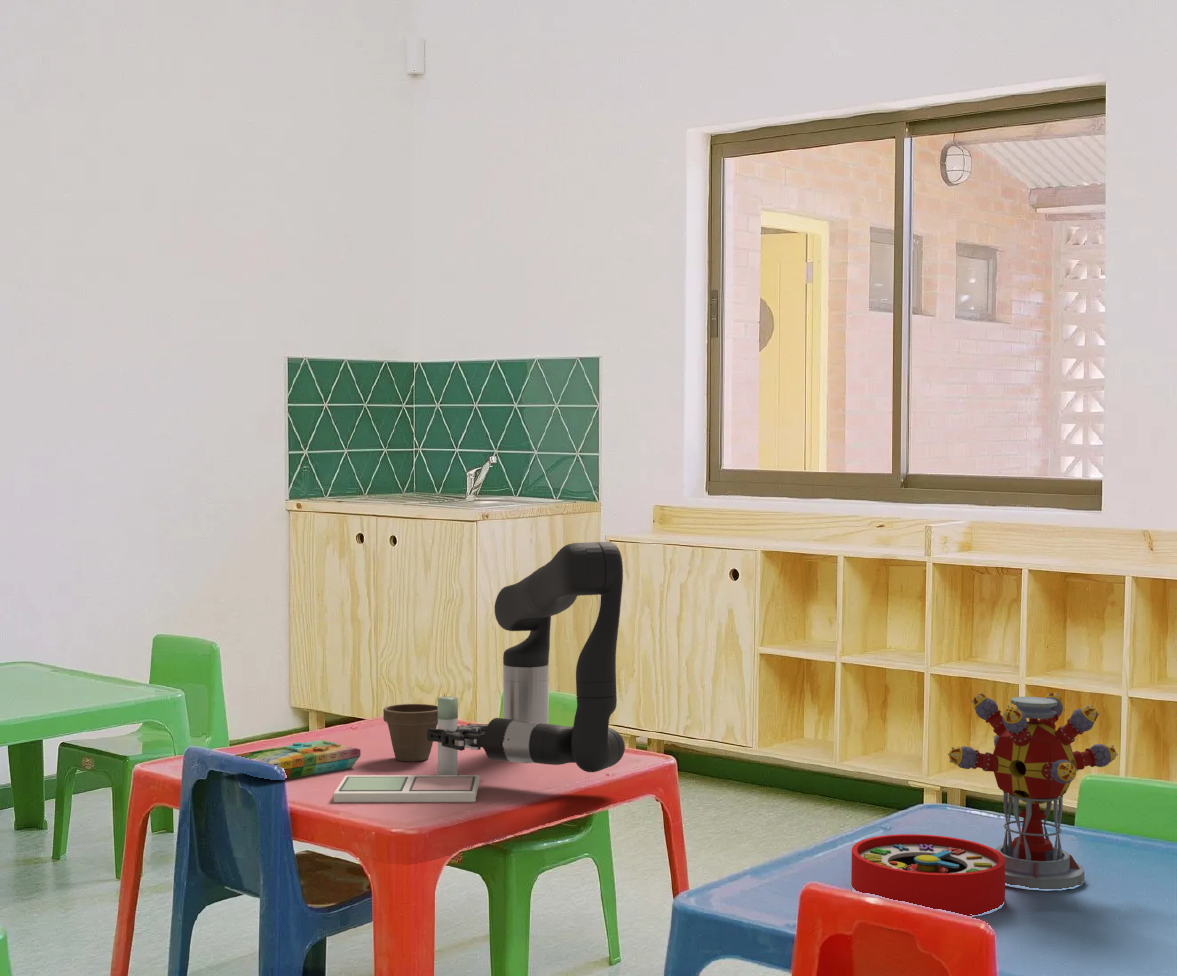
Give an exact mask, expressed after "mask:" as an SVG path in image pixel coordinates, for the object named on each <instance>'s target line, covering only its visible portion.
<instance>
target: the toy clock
mask: <svg viewBox="0 0 1177 976" xmlns="http://www.w3.org/2000/svg"><path fill="white" fill-rule="evenodd" d="M850 865H851V872H850V873H851V877H850V880H851V881H850V883H851V884H850V886H851V885H852V887H853V888H854V889H855V890H856V891H859V892H862V893H870V894H875V895H879V896H882V897H885V898H889V899H893V900H898V901H905V902H909V903H913V904H917V905H922V906H925V907H930V908H933V909H942V910H946V911H951V912H955V913H959V914H963V915H967V916H972V915H978V914H982V913H984V912H987V911H990V910H992V909H995V908H998V907H999V906H1000V905H1002V904H1003V902H1004V901H1005V902H1006V886H1005V858H1004V856H1003V855H1002V854H1001V853H1000V852H999V851H997V850H996V848H993V847H990V846H989V845H986V844H982V843H980V842H976V841H971V840H968V839H964V838H963V839H962V838H958V837H951V836H944V835H936V834H935V835H933V834H918V833H917V834H915V833H911V834H910V833H907V834H906V833H904V834H903V833H901V834H887V835H879V836H873V837H868V838H865V839H862V840H860V841H858V842H856V843H855V844H853V845H852V848H851V864H850ZM970 914H972V915H970Z"/></svg>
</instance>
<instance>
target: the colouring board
mask: <svg viewBox="0 0 1177 976" xmlns="http://www.w3.org/2000/svg"><path fill="white" fill-rule="evenodd" d="M479 785H480V774H479V775H478V774H469V775H467V774H465V775H464V774H463V775H461V774H457V775H438V774H437V775H436V774H433V775H432V774H429V775H427V774H426V775H424V774H422V775H420V774H417V775H413V774H412V775H410V774H409V775H408V774H407V775H406V774H405V775H401V774H400V775H399V774H398V775H395V774H391V775H389V774H387V775H378V774H377V775H372V774H371V775H369V774H368V775H363V774H362V775H359V774H358V775H349V774H347V775H346V774H345V775H344V777H343V778H342V780H341V781H340V783H339V785H338V786H337V788H336V789H335V791H334V792H333V803H476V800H477V795H478V790H479V787H480V786H479Z"/></svg>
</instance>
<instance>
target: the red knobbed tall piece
mask: <svg viewBox="0 0 1177 976" xmlns="http://www.w3.org/2000/svg"><path fill="white" fill-rule="evenodd" d="M970 703H972V704H973V708H974V710H975V713H976V715H977V717H978V718H980V719H982V720H985V721H984V722H985V723H986V724H988V723H989V725H990V726H991V727H992V728H993V730H992V731H993V733H994V734H995V735H992V738H993V743H994V750H993V752H992V753H991V752H984V753H982V752H980V751H979V750H978V749H974V748H973V747H970V746H965V745H964V746H963V745H962V746H961V747H960V746H957V747H953V746H951V749H950V751H949V753H948V754H947V755H948V758H949V763H952V764H954V765H955V766H957V767H959V769H960V768H961V769H965V770H969V769H973V770H976V769H977V768H978V769H981V770H982V771H984V772H990V773H991V772H993V773H994V774H993V775H994V778H995V781H996V784H997V787H998V788H999V790H1001V791H1002V793H1003V800H1002V801H1003V802H1002V803H1003V812H1004V818H1005V823H1004V824H1003V828H1004V829H1005V833H1004V839H1003V844H1002V845H999V846H997V847H996V848H995V850H997V851H999V852H1000V853H1001V854H1002V855H1003V856H1004V858H1005V883H1007V884H1010V885H1020V886H1025V887H1029V888H1039V889H1062V888H1069V887H1074V886H1076V885H1081V884H1082V882H1083V881H1084V882H1085V869H1084V866H1082V865H1080V864H1079V863H1077V862H1076V860H1075V859H1074V858H1073V855H1072V854H1069V853H1068V852H1067V851H1065V850H1064V849H1062V843H1061V837H1060V834H1061V833H1062V828H1061V822H1062V817H1063V811H1064V810H1063V809H1064V808H1063V806H1064V805H1063V803H1064V801H1063V798H1064V795H1065V794H1066V793H1067V791H1068V790H1069V788H1070V785H1071V783H1072V782H1073V781H1074V779H1075V778H1076V776H1077V772H1078V771H1081V770H1084V769H1085V768H1086V767H1091V768H1094V767H1097V768H1104V767H1107V766H1108V765H1109V764H1110V763H1113V761H1114V760H1116V757H1117V756H1119V754H1118V753H1117V751H1116V749H1115V746H1114V745H1113V744H1111V745H1107V744H1103V743H1102V744H1101V743H1096V744H1093V745H1091V746H1090V747H1088V748H1085V750H1084V751H1079V750H1075V751H1073V748H1072V743H1074V742H1075V741H1076V737H1077V736H1079V735H1083V734H1084V733H1085V732H1088V731H1090V730H1092V728H1093V727H1094V725H1095V723H1096V721H1097V719H1098V717H1099V716H1100V714H1101V713H1100V712H1098V710H1097V709H1096V707H1094V705H1093V704H1091V705H1089V704H1087V705H1085V706H1081V707H1080V708H1077V709H1075V710H1073V711H1072V714H1071V716H1070V718H1067V723H1066V724H1064V725H1061V726H1059V727H1058V728H1057V729H1056V723H1057V722H1058V720H1059V718H1060V717H1061V716H1062V713H1063V711H1064V706H1063V699H1062V698H1061V697H1060V695H1059V692H1055V693H1054V692H1049V691H1048V692H1047V695H1046V696H1045V697H1040V696H1015V697H1011V698H1010V704H1011V705H1013V706H1016V707H1013V706H1010V705H1009V704H1008V705H1007V708H1006V709H1005V711H1004V713H1003V715H1002V714H1001V713H1002V710H1000V709H999V705H998V704H997V702H996V701H995V700H994V699H992V698H990V697H989V696H986V695H985V694H984V692H981V693H979V694H976V695H975V696H974V697H973V699H971V700H970ZM1027 719H1028V720H1027ZM1020 800H1021V801H1022V802H1024V803H1025V808H1022V809H1021V810H1020V812H1019V809H1020V808H1019V806H1020V805H1019V804H1020ZM1052 802H1053V803H1052ZM1043 804H1046V807H1045V811H1044V810H1043V809H1041V807H1040V805H1043ZM1052 806H1053V811H1052V812H1053V820H1054V824H1052V823H1049V822H1047V820H1048V818H1049V814H1050V811H1051V809H1052ZM1012 809H1013V810H1012ZM1012 813H1013V815H1014V820H1013V821H1011V815H1012ZM1020 818H1022V819H1023V820H1020ZM1042 820H1043V821H1042ZM1021 823H1022V827H1021ZM1012 824H1016V826H1017V828H1018V831H1017V830H1013V829H1010V828H1011V827H1010V825H1012ZM1046 826H1050V827H1053V828H1055V832H1053V833H1052V832H1051V833H1048V830H1047V828H1046ZM1012 833H1014V834H1018V836H1016V837H1015V838H1013V840H1012ZM1052 836H1056V837H1055V841H1054V846H1053V844H1052V842H1051V840H1050V837H1052ZM1082 885H1083V884H1082Z"/></svg>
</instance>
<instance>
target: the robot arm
mask: <svg viewBox="0 0 1177 976" xmlns="http://www.w3.org/2000/svg"><path fill="white" fill-rule="evenodd" d="M623 568H624V567H623V558H622V554H621V551H620V548H619V547H618V546H617V544H615V542H614V543H613V542H611V541H597V542H595V541H594V542H593V541H592V542H590V541H589V542H573V543H572V542H571V543H568V544H566V545H564V546H563V547H561V548H560V549H559V550H558V551H557V552H556V554H555V555H554V556H553V557H552V558H551V560H550V561H549V562H547V563H546V564H544V565H543V566H541V567H539V568H537V569H536V570H535V571H533V572H532V573H530V574H529V575H528V576H526V577H525V578H523V579H521V580H520V581H518V582H516V583H514V584H510V585H507V586H504V587H503V588H500V590H499V592H498V594H497V596H496V597H495V602H494V616H495V620H496V621H497V623H498V625H499V626H500V627H501V628H502V629H503V630H505V631H508V632H527V631H529V635H528V636H527V637H526V639H524V640H522V642H519V643H517V644H516V645H514V646H512V647H508V648H507V649H505V650H504V651H503V655H502V656H503V659H502V665H503V666H502V667H503V669H502V717H495V718H493V719H491V720H490V721H489V722H488V724H487V723H486V724H483V723H480V724H479V723H468V724H466V725H465V724H459V725H458V729H456V730H449V729H446V730H442V729H438V728H436V729H433V728H431V729H428V730H427V739H428V741H433V742H435V743H438V742H442V746H444V747H448V748H453V749H457V751H465V749H470V750H473V751H481V748H482V749H483V751H484V752H485V755H486V756H487V758H489V760H492V761H501V762H509V763H521V764H541V765H549V766H551V765H552V766H560V765H561V766H562V765H565V764H571V763H573V764H576V766H577V767H578V768H579V769H580V770H582V771H583V772H585V773H586V772H587V773H597V772H600V771H602V770H605V769H607V768H611V767H613V766H614V765H616V764H617V763H619V762H620V761H621V760H622V758H623V757H624V754H625V750H626V749H625V748H626V743H625V741H624V738H623V736H622V735H621V734H620V733H619V732H618V731H617V730H615V729H614V728H612V727H609V725H610V717H611V715H612V714H613V713H614V712H615V711H616V709H617V702H618V701H617V700H618V699H617V698H618V697H617V671H616V669H617V667H616V666H617V663H616V662H617V661H616V660H617V643H618V634H619V626H620V617H621V606H622V605H621V604H622V596H623V595H622V593H623V582H624V581H623V579H624V569H623ZM599 595H600V600H599V601H600V605H599V611H598V614H597V617H596V622H595V624H594V626H593V628H592V630H591V632H590V634H589V636H588V638H587V640H586V641H585V643H584V645H583V647H582V649H581V651H580V653H579V656H578V660H577V663H576V667H575V668H576V669H575V685H576V686H575V691H576V711H575V715H574V720H573V724H572V725H573V726H569V725H568V726H565V725H559V724H552V723H551V724H550V723H549V708H550V707H549V695H550V693H549V691H550V690H549V686H550V679H549V678H550V677H549V669H550V668H549V666H550V665H549V659H550V657H549V656H550V648H551V647H550V645H551V642H550V641H551V624H552V616H553V617H554V616H556V615H559V614H560V613H562V612H563V611H566V610H567V609H569V608H570V607H571V606H572V605H573V604H574V603H575V601H576V600H577V598H578V597H579V596H599Z"/></svg>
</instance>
